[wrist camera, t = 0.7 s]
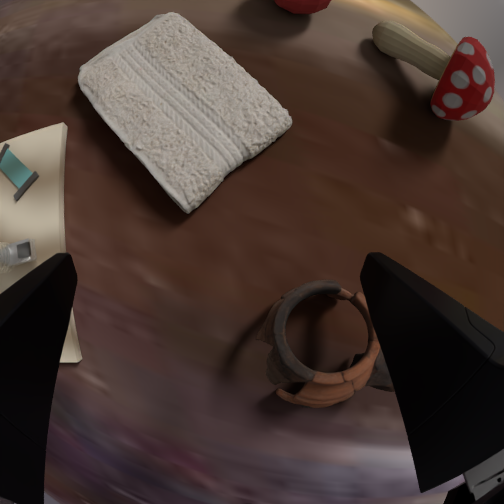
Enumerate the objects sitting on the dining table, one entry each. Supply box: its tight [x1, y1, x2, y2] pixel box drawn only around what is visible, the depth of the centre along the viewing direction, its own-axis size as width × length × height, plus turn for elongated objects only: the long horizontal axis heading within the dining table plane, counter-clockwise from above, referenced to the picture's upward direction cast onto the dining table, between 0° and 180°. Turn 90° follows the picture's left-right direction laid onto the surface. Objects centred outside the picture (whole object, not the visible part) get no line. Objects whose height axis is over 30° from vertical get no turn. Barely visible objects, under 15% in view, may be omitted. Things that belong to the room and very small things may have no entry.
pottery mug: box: [256, 280, 395, 408], centre depth 21 cm, size 12×10×8 cm
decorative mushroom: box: [372, 21, 495, 121], centre depth 23 cm, size 11×11×15 cm
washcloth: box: [78, 12, 292, 214], centre depth 22 cm, size 12×18×3 cm, turn 43°
